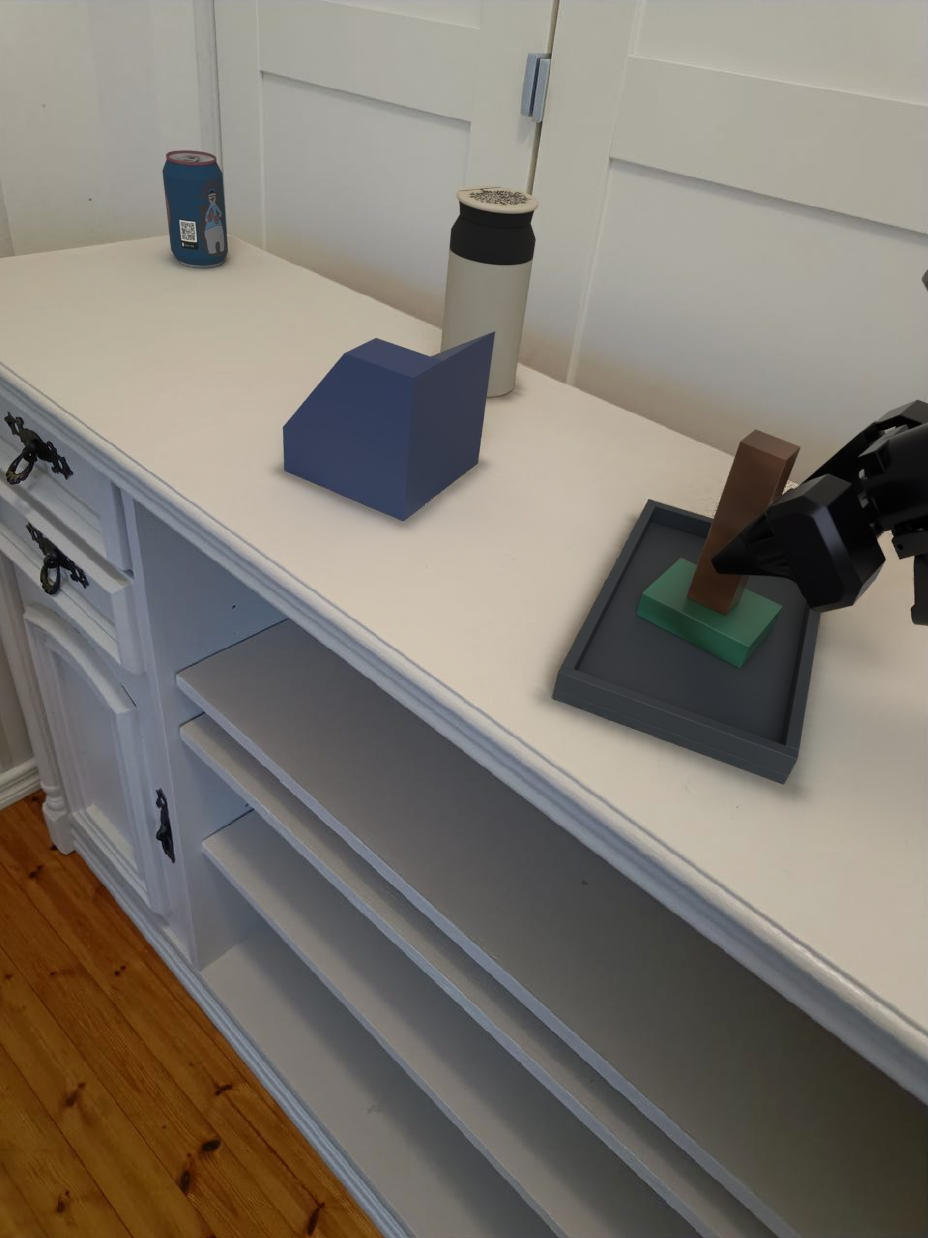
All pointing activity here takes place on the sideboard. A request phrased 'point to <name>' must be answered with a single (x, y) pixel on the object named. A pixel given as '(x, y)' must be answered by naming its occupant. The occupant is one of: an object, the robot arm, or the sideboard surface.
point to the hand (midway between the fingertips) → (748, 537)
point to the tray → (692, 660)
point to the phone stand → (392, 424)
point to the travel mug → (490, 276)
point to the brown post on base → (720, 603)
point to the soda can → (195, 208)
